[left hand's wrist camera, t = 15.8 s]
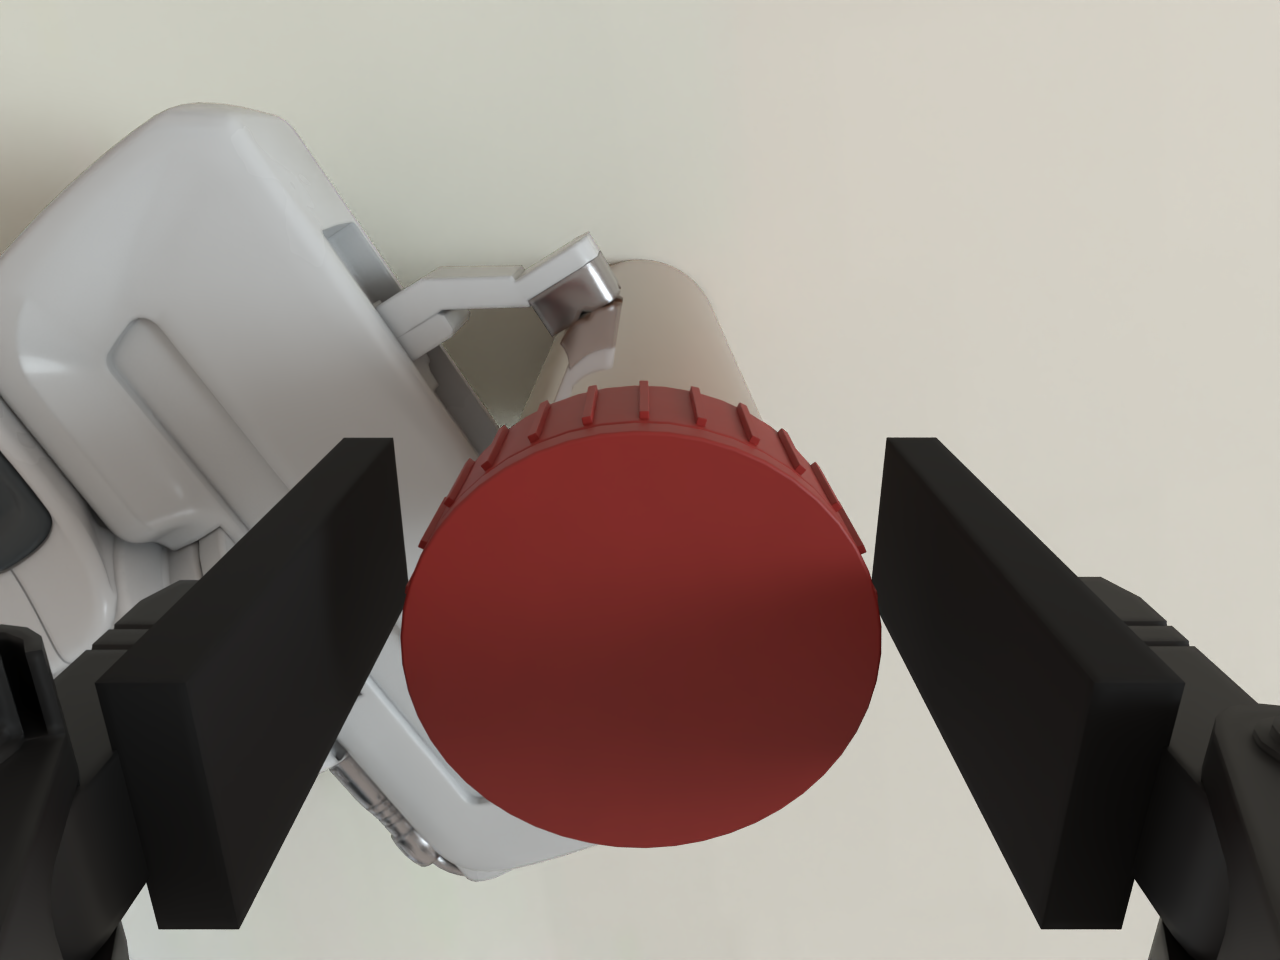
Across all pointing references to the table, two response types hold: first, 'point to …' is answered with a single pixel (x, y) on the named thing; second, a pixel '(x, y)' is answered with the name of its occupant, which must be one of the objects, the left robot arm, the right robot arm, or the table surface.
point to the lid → (641, 620)
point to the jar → (644, 342)
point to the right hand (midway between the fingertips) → (672, 373)
